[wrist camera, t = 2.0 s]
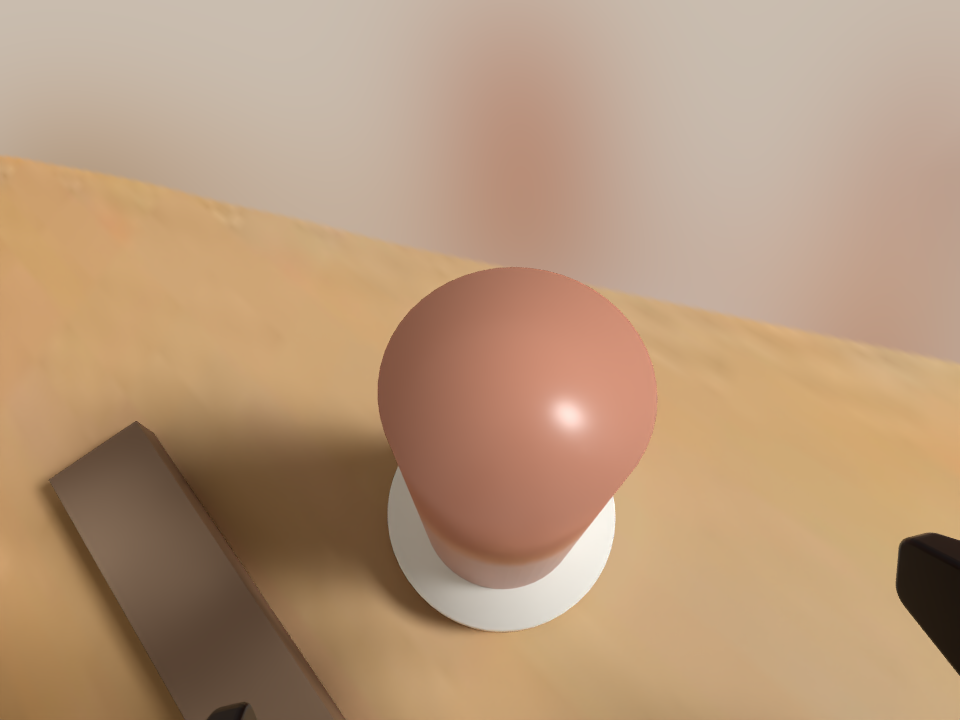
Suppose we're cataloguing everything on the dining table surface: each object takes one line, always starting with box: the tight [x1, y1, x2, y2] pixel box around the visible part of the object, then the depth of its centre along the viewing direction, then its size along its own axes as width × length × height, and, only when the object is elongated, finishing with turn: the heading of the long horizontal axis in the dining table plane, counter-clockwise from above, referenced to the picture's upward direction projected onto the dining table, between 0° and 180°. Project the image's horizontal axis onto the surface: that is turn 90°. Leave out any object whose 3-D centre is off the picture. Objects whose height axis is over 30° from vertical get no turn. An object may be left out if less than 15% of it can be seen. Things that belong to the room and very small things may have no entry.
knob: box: [378, 267, 657, 633], centre depth 15 cm, size 7×7×10 cm
